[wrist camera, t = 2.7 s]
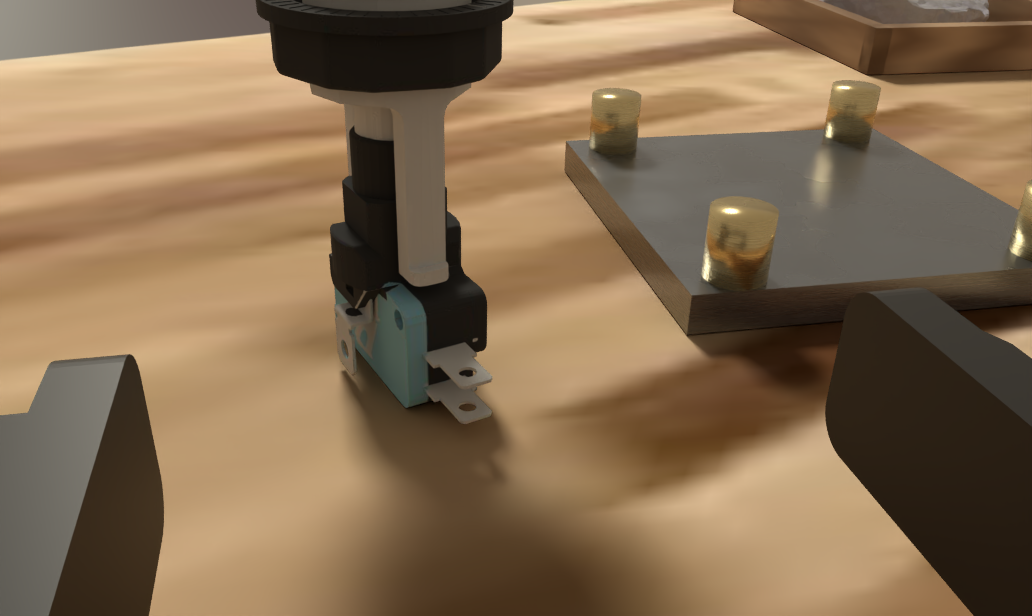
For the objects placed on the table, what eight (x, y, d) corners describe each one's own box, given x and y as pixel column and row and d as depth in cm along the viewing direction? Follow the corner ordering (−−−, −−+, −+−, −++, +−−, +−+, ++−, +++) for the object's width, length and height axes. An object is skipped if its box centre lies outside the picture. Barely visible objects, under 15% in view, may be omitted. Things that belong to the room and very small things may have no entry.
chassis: (686, 334, 25) (700, 225, 24) (564, 170, 36) (568, 89, 35) (1096, 297, 28) (1133, 197, 26) (864, 155, 39) (881, 79, 37)
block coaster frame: (866, 74, 51) (876, 28, 50) (732, 11, 66) (737, -26, 65) (1114, 66, 54) (1128, 22, 53) (931, 8, 70) (939, -28, 68)
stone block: (974, 56, 65) (838, 9, 68) (1007, -13, 62) (864, -58, 65) (941, 100, 56) (787, 43, 59) (978, 22, 53) (814, -32, 57)
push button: (573, 408, 22) (603, -40, 17) (362, 477, 19) (328, -22, 15) (448, 293, 27) (443, -78, 22) (267, 336, 24) (218, -70, 20)
